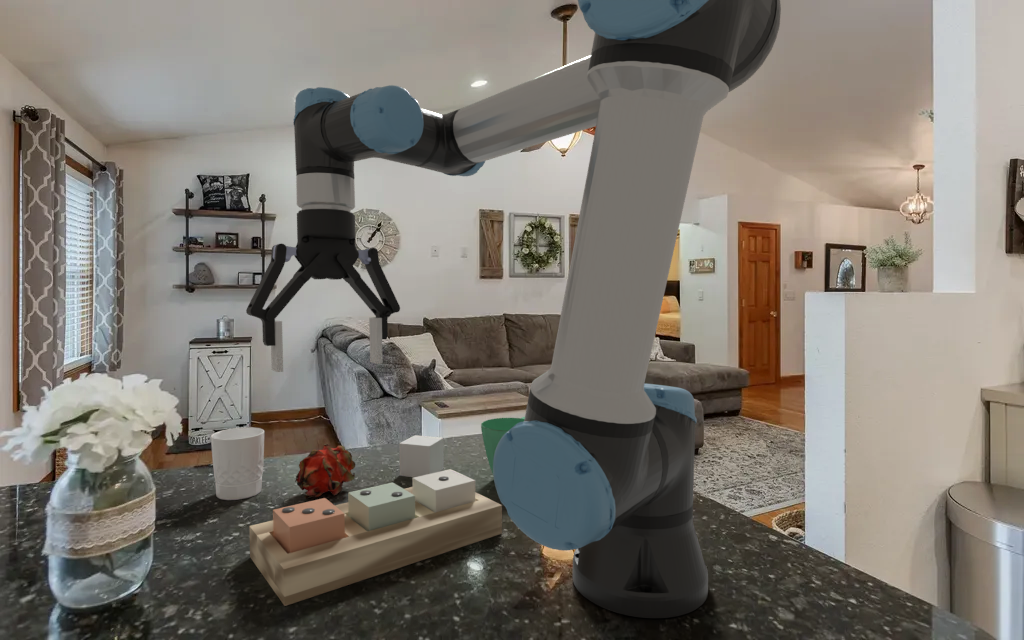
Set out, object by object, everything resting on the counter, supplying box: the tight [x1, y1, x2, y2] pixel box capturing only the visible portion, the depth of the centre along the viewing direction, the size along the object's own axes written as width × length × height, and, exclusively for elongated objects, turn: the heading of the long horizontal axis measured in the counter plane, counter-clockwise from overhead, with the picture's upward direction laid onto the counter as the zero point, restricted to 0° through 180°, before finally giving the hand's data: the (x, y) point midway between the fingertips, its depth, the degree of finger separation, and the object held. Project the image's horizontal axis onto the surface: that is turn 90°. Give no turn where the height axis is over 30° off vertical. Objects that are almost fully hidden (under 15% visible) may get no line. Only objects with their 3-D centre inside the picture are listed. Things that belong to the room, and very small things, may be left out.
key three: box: [272, 497, 345, 554], centre depth 69 cm, size 6×6×4 cm
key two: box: [347, 482, 415, 531], centre depth 75 cm, size 6×6×4 cm
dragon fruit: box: [294, 443, 356, 499], centre depth 93 cm, size 8×8×12 cm
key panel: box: [249, 486, 503, 607], centre depth 75 cm, size 14×29×4 cm, turn 128°
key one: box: [411, 468, 476, 512], centre depth 80 cm, size 6×6×4 cm
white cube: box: [398, 434, 445, 478], centre depth 104 cm, size 6×6×6 cm
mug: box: [480, 416, 525, 474], centre depth 102 cm, size 15×10×10 cm
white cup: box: [210, 426, 265, 501], centre depth 93 cm, size 8×8×10 cm
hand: (329, 366), depth 78 cm, fingers open, 13 cm apart
